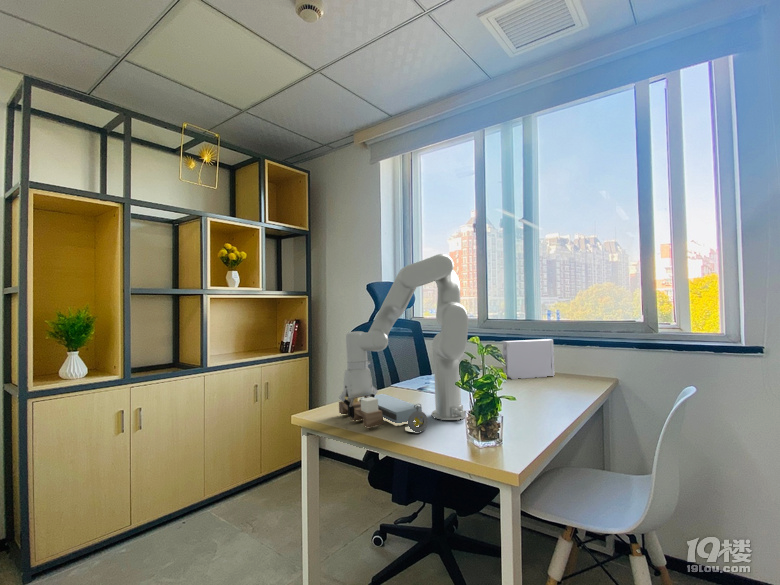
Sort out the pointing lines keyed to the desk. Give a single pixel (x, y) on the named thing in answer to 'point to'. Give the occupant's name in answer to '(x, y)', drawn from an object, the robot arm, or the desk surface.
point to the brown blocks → (363, 414)
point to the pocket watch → (417, 420)
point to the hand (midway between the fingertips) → (359, 414)
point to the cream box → (369, 404)
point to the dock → (395, 408)
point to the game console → (528, 358)
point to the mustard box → (354, 399)
